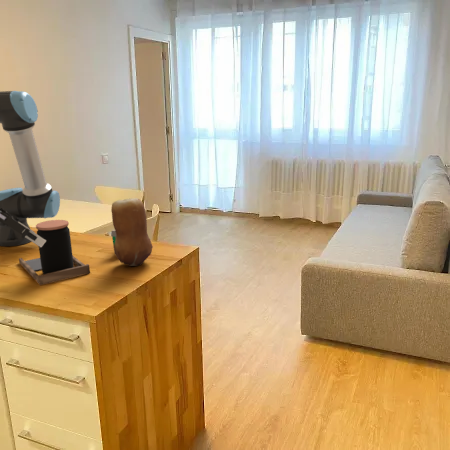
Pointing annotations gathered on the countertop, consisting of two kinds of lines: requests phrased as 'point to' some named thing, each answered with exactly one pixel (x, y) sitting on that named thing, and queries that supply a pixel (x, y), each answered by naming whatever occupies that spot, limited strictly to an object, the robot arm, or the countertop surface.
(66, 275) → the bay
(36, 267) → the front mat
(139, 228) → the butternut squash
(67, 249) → the coffee jar
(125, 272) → the countertop surface
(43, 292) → the countertop surface
